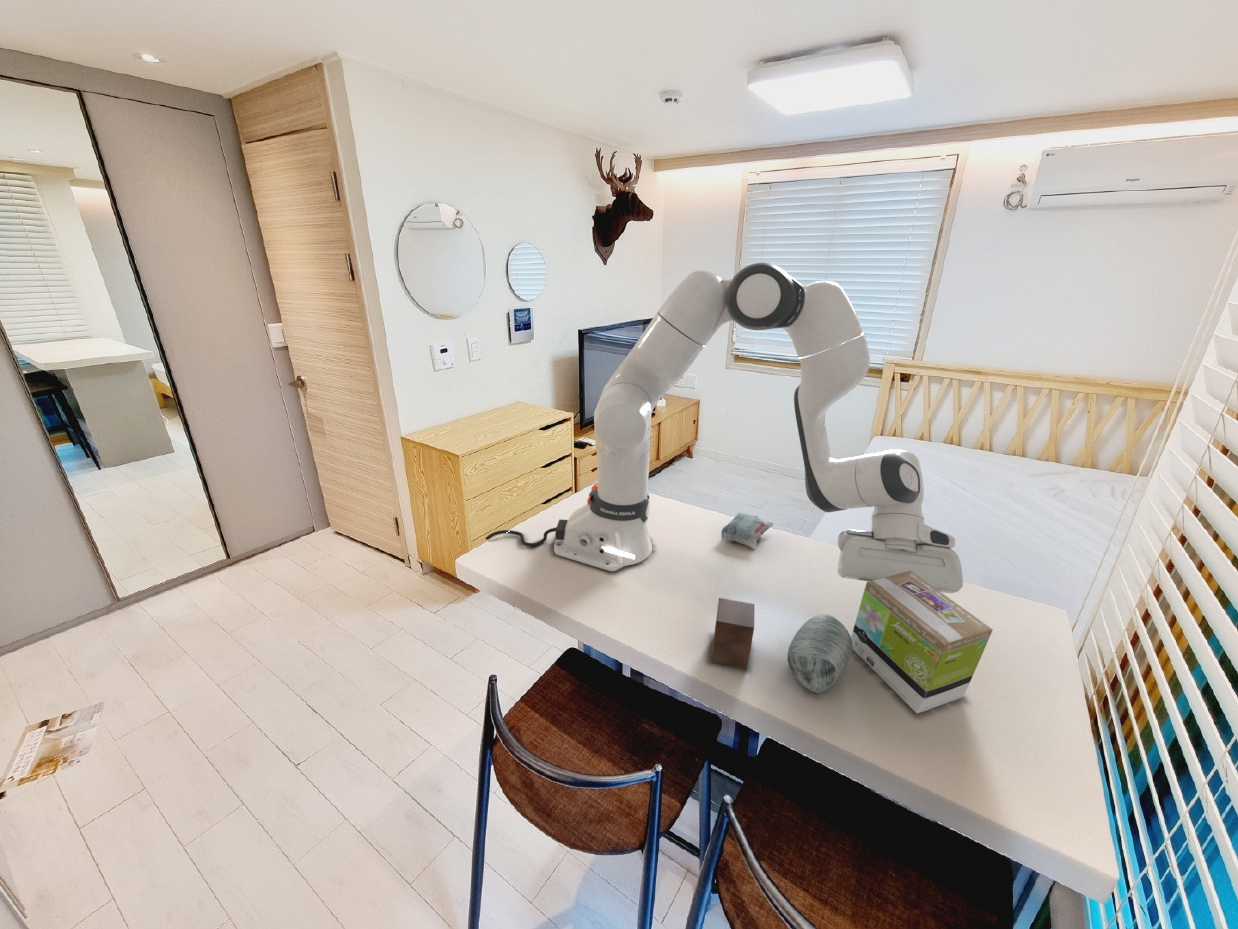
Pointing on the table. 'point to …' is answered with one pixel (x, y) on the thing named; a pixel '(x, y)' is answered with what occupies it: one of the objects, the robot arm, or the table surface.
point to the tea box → (918, 640)
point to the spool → (819, 652)
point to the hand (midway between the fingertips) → (897, 610)
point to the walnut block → (733, 633)
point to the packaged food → (745, 529)
